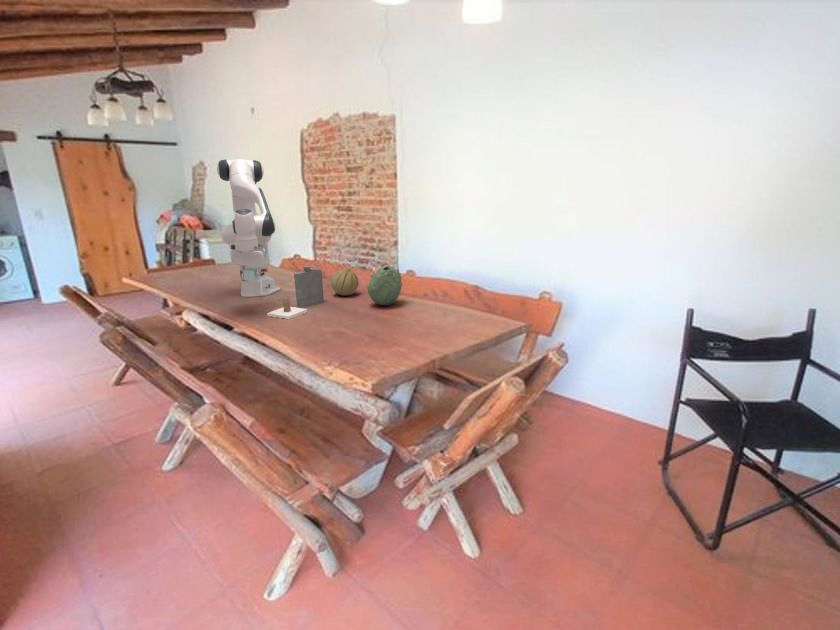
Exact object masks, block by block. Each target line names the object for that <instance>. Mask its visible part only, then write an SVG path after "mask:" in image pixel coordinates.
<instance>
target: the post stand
mask: <svg viewBox="0 0 840 630" xmlns="http://www.w3.org/2000/svg"><path fill="white" fill-rule="evenodd" d="M282 305H283V306H282V307H280V308H277V309H275V310H272V311H270V312H267V313H266V314H267V317H270V316H273V317H272V318H276V317H279V318H278V319H282V318H286V319H285V320H288V319H289V320H291V319H290V318H292V319H294V318H296V316H297V317H299V316H301V315H303V313H304V314H305V313H308V309H307V308H297V306H291V299H290V295H289V296H288V295H284V296H282ZM298 315H299V316H298ZM293 317H294V318H293Z"/></svg>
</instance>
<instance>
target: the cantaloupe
mask: <svg viewBox="0 0 840 630" xmlns="http://www.w3.org/2000/svg"><path fill="white" fill-rule="evenodd" d="M330 283H331V288H332V289H333V291H334V292H335V293H336V294H337V295H339V296H344V297H345V296H346V297H347V296H351V295H353V294H354V293H355V292H356V291H357V290H358V287H359V278H358V276H357V274H356V273H355V272H354V271H352V270H351V268H347V269H346V268H341V269H339V270H337V271H336V272H335V273H334V274H333V275H332V277H331V282H330Z"/></svg>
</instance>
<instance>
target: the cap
mask: <svg viewBox="0 0 840 630" xmlns="http://www.w3.org/2000/svg"><path fill="white" fill-rule="evenodd" d="M256 271H257V269H256V268H247V269H244V278H245V281H255V280H259V277H258V276H255V273H256Z"/></svg>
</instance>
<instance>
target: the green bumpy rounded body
mask: <svg viewBox="0 0 840 630" xmlns="http://www.w3.org/2000/svg"><path fill="white" fill-rule="evenodd" d="M402 286H403V283H402V273H400V270H399V268H397V267H394V266H390V265H389V264H384V266H383V267H380V268H378V269H377V270H376V272H375V273H373V274H371V275H370V280H369V282H368V285H367V289H366V291H367V293H368V296H369V297H370V299H371V301H373V302H374V303H375V304H377V305H379V306H381V307H382V306H383V307H385V306H390V305H392V304H394V303H395V302H396V301H397V300H398V298H399V296H400V294H401V291H402Z"/></svg>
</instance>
